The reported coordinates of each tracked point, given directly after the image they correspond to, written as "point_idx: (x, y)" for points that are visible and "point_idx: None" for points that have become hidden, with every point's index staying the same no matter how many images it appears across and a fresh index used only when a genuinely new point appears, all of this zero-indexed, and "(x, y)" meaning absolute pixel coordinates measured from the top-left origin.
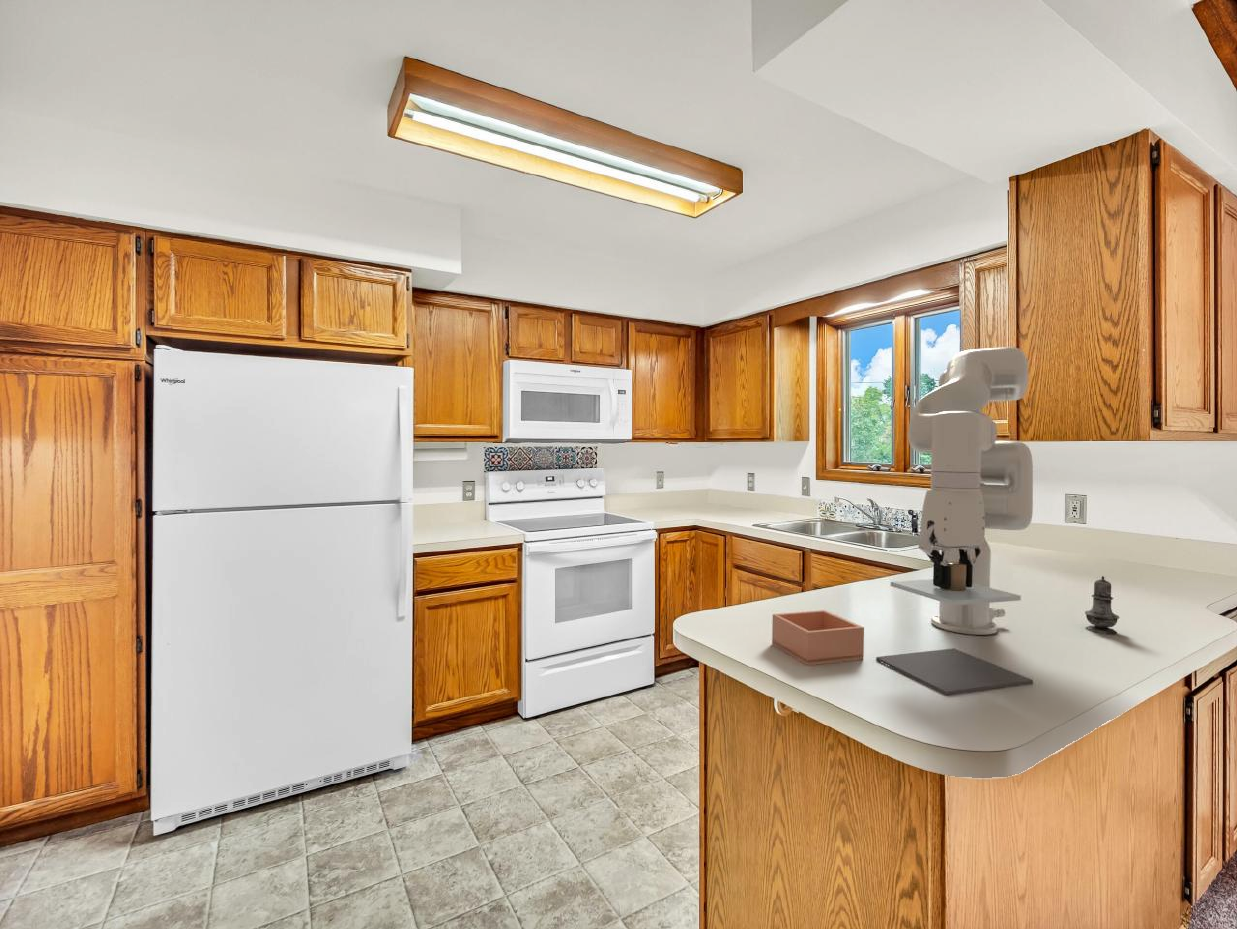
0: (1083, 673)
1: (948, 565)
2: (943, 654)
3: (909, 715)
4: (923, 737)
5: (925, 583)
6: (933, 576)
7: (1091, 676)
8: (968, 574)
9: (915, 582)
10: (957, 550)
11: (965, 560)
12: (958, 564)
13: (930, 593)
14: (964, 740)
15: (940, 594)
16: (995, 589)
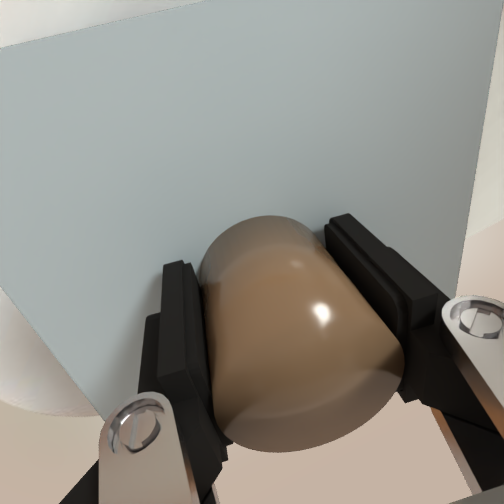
0: (494, 165)
1: (231, 437)
2: None
3: (25, 349)
4: (27, 401)
5: (163, 151)
6: (162, 294)
7: (491, 181)
8: None
9: (94, 117)
10: (501, 420)
11: (428, 395)
12: (322, 418)
13: (77, 382)
14: (88, 400)
15: (122, 389)
16: (453, 276)
